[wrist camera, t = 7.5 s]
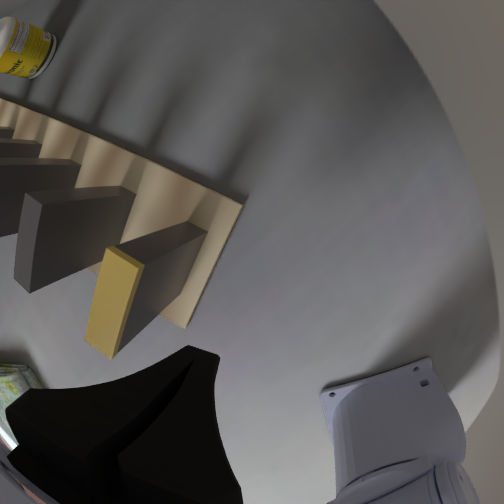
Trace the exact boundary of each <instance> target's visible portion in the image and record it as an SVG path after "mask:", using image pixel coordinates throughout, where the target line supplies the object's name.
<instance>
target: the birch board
mask: <svg viewBox="0 0 504 504" xmlns="http://www.w3.org/2000/svg"><path fill="white" fill-rule="evenodd" d="M0 126H4V127H10V128H12V129H14V130H15V131H14V134H13V137H12V139H23V140H35V141H36V142H38V143H40V144H42V148H41V151H40V154H39V158H56V159H71V160H72V161H74V162H76V163H78V164H80V165H82V166H81V169H80V172H79V175H78V178H77V181H76V184H75V188H83V187H100V186H122V187H124V188H126V189H128V190H130V191H132V192H133V193H135V194H137V195H136V197H135V200H134V203H133V205H132V208H131V211H130V214H129V217H128V220H127V223H126V226H125V229H124V232H123V235H122V238H121V241H120V244H121V243H124V242H127V241H130V240H132V239H135V238H138V237H141V236H144V235H147V234H150V233H153V232H155V231H158V230H161V229H164V228H167V227H170V226H173V225H176V224H179V223H182V222H185V221H189V222H191V223H192V224H194V225H196V226H198V227H200V228H202V229H204V230H206V231H207V232H208V233H207V236H206V238H205V240H204V242H203V244H202V247H201V249H200V251H199V253H198V255H197V258H196V260H195V262H194V264H193V267H192V269H191V271H190V273H189V276H188V278H187V280H186V283H185V285H184V287H183V289H182V292H181V294H180V295H179V296H178V297H177V298H176V299H175V300H174V301H172V302H171V303H170V304H169V305H168V306H167V307H166V308H165V309H164V310H163V311H162V312H161V313H160V314H159V315H161V316H163V317H164V318H166V319H168V320H170V321H171V322H173V323H175V324H176V325H178V326H180V327H182V328H184V329H185V328H186V327H187V326H188V324H189V321H190V319H191V317H192V315H193V313H194V310H195V308H196V306H197V304H198V302H199V299H200V297H201V295H202V293H203V291H204V288H205V286H206V284H207V282H208V280H209V278H210V275H211V273H212V271H213V269H214V267H215V265H216V263H217V260H218V258H219V256H220V254H221V252H222V250H223V248H224V246H225V243H226V241H227V239H228V237H229V235H230V233H231V231H232V229H233V227H234V225H235V223H236V220H237V218H238V216H239V214H240V212H241V210H242V208H243V206H244V205H242V204H240V203H238V202H236V201H234V200H232V199H230V198H228V197H226V196H224V195H222V194H220V193H218V192H216V191H214V190H212V189H210V188H208V187H206V186H204V185H202V184H200V183H198V182H196V181H193V180H191V179H189V178H187V177H185V176H183V175H181V174H179V173H177V172H175V171H172V170H170V169H168V168H166V167H164V166H162V165H160V164H157V163H155V162H153V161H151V160H149V159H146V158H144V157H142V156H140V155H138V154H135V153H133V152H131V151H129V150H127V149H124V148H122V147H120V146H118V145H115V144H113V143H111V142H108V141H106V140H104V139H102V138H99V137H97V136H95V135H92V134H90V133H88V132H85V131H83V130H81V129H78V128H76V127H73V126H71V125H69V124H66V123H64V122H61V121H59V120H56V119H54V118H51V117H49V116H47V115H44V114H41V113H39V112H36V111H34V110H31V109H29V108H26V107H24V106H21V105H18V104H16V103H13V102H11V101H8V100H5V99H2V98H0ZM101 265H102V261H101V262H99V263H97V264H94V265H92V266H90V267H87V268H88V269H90V270H91V271H93V272H94V273H96V274H97V275H98V276H99V272H100V269H101Z"/></svg>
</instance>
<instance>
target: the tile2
mask: <svg viewBox="0 0 504 504" xmlns="http://www.w3.org/2000/svg"><path fill="white" fill-rule="evenodd" d="M136 195H137V194H135V193H133V192H132V191H130V190H128V189H126V188H124V187H122V186H100V187H83V188H69V189H56V190H45V191H34V192H25V196H24V201H23V207H22V212H21V218H20V224H19V231H18V238H17V246H16V256H15V267H14V279H15V280H16V281H17V282H18V283H19V284H20V285H21V286H22V287H23V288H24V289H25V290H26V291H27V292H28V293H32V292H34V291H36V290H38V289H40V288H42V287H45V286H47V285H49V284H51V283H53V282H56V281H58V280H60V279H62V278H64V277H67V276H69V275H71V274H73V273H76V272H78V271H80V270H83V269H85V268H87V267H90V266H92V265H94V264H97V263H99V262H101V261H103V258H104V254H105V251H106V248H108V247H111V246H116V245H118V244H120V241H121V238H122V235H123V232H124V229H125V226H126V223H127V220H128V217H129V214H130V211H131V208H132V205H133V203H134V200H135V197H136Z"/></svg>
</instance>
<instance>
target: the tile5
mask: <svg viewBox="0 0 504 504" xmlns="http://www.w3.org/2000/svg"><path fill="white" fill-rule="evenodd" d="M14 131H15V130H14V129H12V128H10V127H4V126H0V138H6V139H12V137H13V134H14Z"/></svg>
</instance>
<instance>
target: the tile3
mask: <svg viewBox="0 0 504 504" xmlns="http://www.w3.org/2000/svg"><path fill="white" fill-rule="evenodd" d="M81 166H82V165H80V164H78V163H76V162H74V161H72V160H71V159H56V158H0V237H3V236H7V235H11V234H15V233H18V231H19V224H20V218H21V212H22V207H23V201H24V196H25V192H34V191H45V190H56V189H69V188H75V184H76V181H77V178H78V175H79V172H80V169H81Z"/></svg>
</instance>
